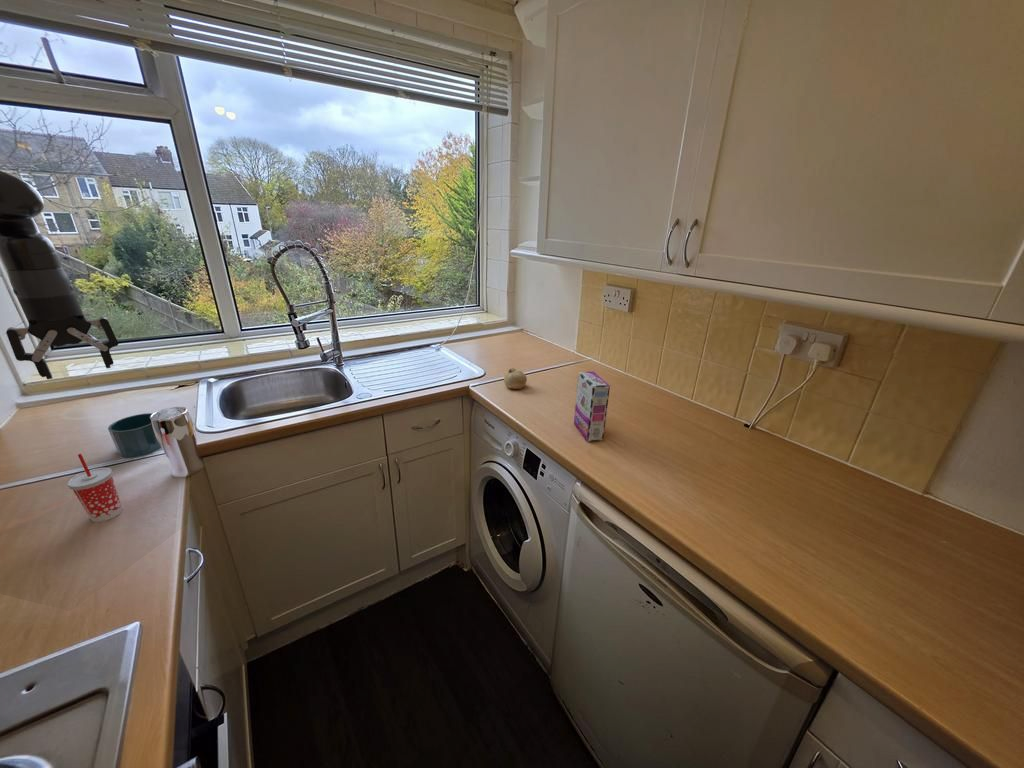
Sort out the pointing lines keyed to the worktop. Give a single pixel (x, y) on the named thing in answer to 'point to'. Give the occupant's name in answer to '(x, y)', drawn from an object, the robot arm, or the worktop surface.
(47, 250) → the robot arm
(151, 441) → the teal round pot
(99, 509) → the beverage cup
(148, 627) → the worktop surface
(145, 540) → the worktop surface
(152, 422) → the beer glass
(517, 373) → the onion
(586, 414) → the candy bar box
